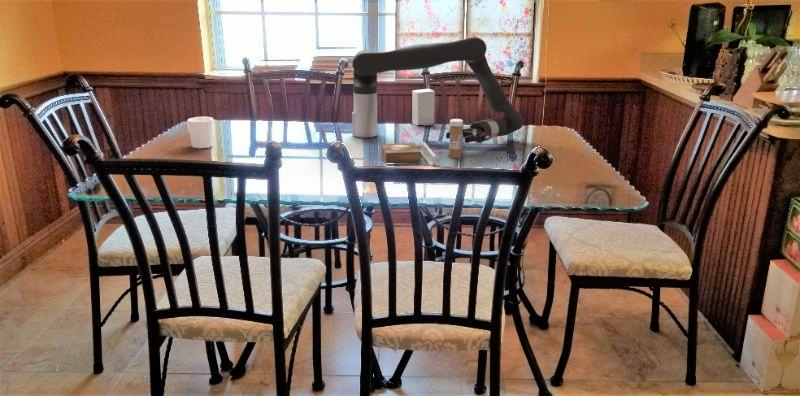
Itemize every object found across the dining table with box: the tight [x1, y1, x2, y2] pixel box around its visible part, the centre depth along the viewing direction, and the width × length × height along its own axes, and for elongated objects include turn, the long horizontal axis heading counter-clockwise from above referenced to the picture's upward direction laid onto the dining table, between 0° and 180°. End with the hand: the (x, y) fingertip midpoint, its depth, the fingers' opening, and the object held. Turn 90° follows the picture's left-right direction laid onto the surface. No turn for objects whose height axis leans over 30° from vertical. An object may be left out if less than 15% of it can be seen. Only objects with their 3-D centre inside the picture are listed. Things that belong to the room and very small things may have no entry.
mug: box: [186, 116, 215, 149], centre depth 235 cm, size 11×9×10 cm
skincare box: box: [411, 88, 436, 126], centre depth 272 cm, size 8×6×15 cm
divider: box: [419, 141, 440, 167], centre depth 223 cm, size 20×3×4 cm, turn 10°
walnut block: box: [380, 142, 422, 165], centre depth 221 cm, size 12×12×4 cm
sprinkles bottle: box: [448, 118, 464, 159], centre depth 223 cm, size 5×5×14 cm
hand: (456, 137), depth 223 cm, fingers open, 8 cm apart
